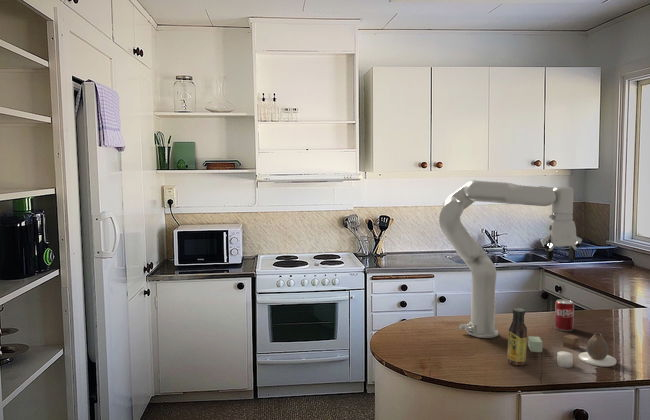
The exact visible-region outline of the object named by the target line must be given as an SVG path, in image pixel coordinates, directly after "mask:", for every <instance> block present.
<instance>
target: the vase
mask: <svg viewBox="0 0 650 420" xmlns="http://www.w3.org/2000/svg"><path fill="white" fill-rule="evenodd" d="M607 342H608V341H606V339H605V338H604V336H603V335H602V334H601V333H598V332H595V333H594V334H593V335H592V337H590V338H589V339H588V341H587V342H586V352H588V354H589V356H590V357H591V358H593V359H597V360H602V359H604V358H605V357H606V356H607V355H609V346H608V343H607Z"/></svg>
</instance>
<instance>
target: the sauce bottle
mask: <svg viewBox="0 0 650 420" xmlns="http://www.w3.org/2000/svg"><path fill="white" fill-rule="evenodd" d="M525 315H526V310H525V309H524V308H521V307H515V308H513V309H512V322H511V324H510V326H509V328H508V333H507V335H508V338H507V357H506V358H507V362H508V363H509V364H511V365H513V366H524V365H526V361H527V360H526V359H527V346H528V328H527V326H526V324H525Z"/></svg>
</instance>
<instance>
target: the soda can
mask: <svg viewBox="0 0 650 420" xmlns="http://www.w3.org/2000/svg"><path fill="white" fill-rule="evenodd" d="M554 310H555V311H554V328H555V329H556V330H558V331H563V332H571V331H573V330H574V321H575V319H574V315H575V303H574V302H573V301H572V300H568V299H557V300H556V301H555V307H554Z"/></svg>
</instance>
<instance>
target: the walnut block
mask: <svg viewBox="0 0 650 420" xmlns="http://www.w3.org/2000/svg"><path fill="white" fill-rule="evenodd" d="M562 339H563V340H562V346H563V347H564V348H568V349H570V350H574V349H578V348H580V337H579V336H576V335H573V334H567V335H563V337H562Z"/></svg>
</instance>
